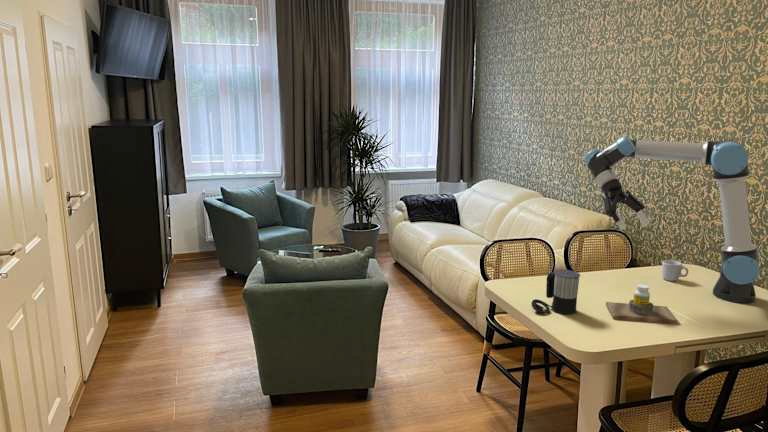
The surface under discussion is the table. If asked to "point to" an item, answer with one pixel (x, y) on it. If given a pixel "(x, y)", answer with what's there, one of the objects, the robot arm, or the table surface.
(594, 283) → the table surface
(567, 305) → the milk frother
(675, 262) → the cup
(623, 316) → the collar board
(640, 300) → the supplement bottle
